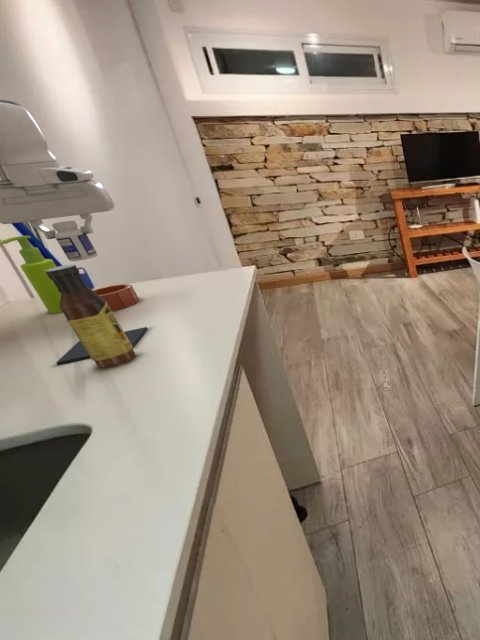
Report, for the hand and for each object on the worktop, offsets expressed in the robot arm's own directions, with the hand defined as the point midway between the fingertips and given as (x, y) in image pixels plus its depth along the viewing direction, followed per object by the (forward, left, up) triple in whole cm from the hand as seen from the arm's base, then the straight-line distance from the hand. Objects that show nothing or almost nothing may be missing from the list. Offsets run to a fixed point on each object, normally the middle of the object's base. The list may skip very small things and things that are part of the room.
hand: (71, 235), depth 115 cm
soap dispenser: (-14, +13, -20) cm, 28 cm away
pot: (-1, +6, -20) cm, 21 cm away
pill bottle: (0, 0, -6) cm, 6 cm away
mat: (+6, -28, -20) cm, 35 cm away
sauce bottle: (+11, -40, -20) cm, 46 cm away
